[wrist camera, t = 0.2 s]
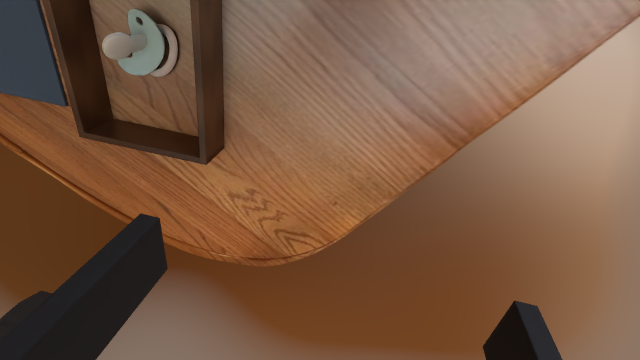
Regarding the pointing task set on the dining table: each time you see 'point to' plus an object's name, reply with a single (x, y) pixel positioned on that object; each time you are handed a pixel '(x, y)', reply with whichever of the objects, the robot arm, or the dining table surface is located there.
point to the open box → (92, 97)
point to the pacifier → (142, 46)
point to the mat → (27, 54)
